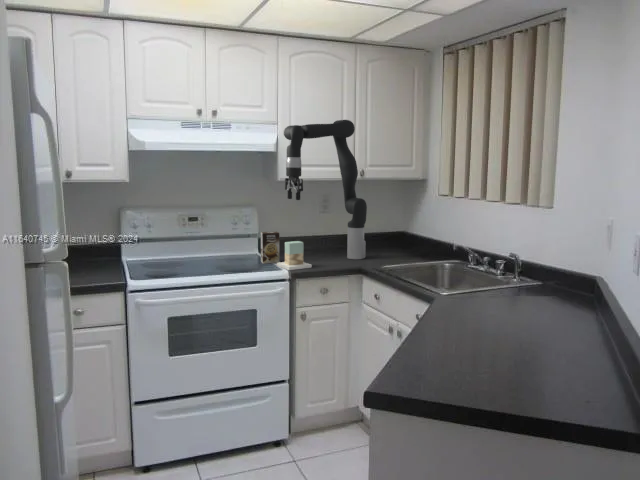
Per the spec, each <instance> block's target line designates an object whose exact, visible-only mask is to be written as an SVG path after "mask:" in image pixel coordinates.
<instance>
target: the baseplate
mask: <svg viewBox="0 0 640 480" xmlns="http://www.w3.org/2000/svg"><path fill="white" fill-rule="evenodd" d="M312 265H313V264H311V263H309V262H305V261H303V264H297V265H287V264H285V261H282V262H281V261H279V263H276V266H277V267H279V268H282V269H284V270H287V271H294V270H301V269H302V270H303V269H311V268H312Z"/></svg>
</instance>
